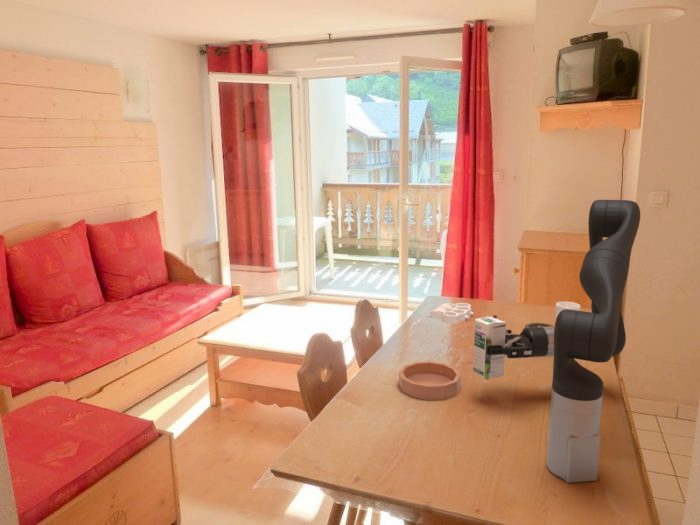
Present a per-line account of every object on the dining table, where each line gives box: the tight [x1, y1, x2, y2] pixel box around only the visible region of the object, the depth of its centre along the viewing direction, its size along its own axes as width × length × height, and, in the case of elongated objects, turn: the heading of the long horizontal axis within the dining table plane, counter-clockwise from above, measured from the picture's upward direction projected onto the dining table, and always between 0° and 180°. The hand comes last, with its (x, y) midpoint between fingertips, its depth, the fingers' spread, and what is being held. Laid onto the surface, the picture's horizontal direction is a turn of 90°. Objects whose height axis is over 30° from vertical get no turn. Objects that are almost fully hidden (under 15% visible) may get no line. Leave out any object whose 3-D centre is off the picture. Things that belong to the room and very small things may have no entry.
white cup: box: [554, 301, 581, 322], centre depth 187 cm, size 8×8×10 cm
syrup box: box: [472, 316, 507, 381], centre depth 138 cm, size 6×6×14 cm
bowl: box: [398, 360, 461, 401], centre depth 148 cm, size 16×16×4 cm
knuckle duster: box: [429, 302, 475, 325], centre depth 208 cm, size 3×18×15 cm
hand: (481, 344), depth 138 cm, fingers closed on syrup box, 7 cm apart
